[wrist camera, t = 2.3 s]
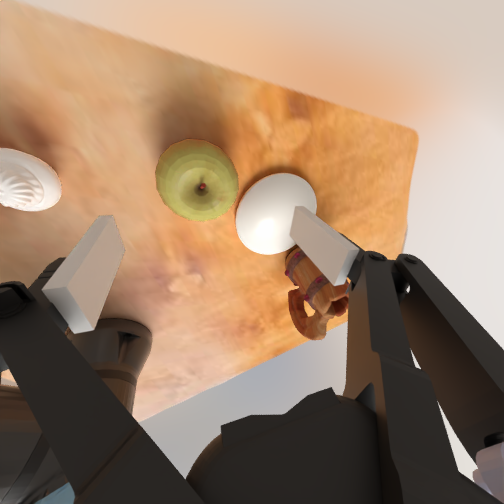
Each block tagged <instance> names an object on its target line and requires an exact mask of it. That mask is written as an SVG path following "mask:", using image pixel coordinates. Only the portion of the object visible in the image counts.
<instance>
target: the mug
mask: <svg viewBox="0 0 504 504" xmlns="http://www.w3.org/2000/svg"><path fill="white" fill-rule="evenodd" d="M285 266H286V271H285V275H286V276H288V277H289V278H290V280H291V281H292V282H293V283H294V285H295V286H299V288H298V289H295V290H291V291H289V292H288V302H289V311H290V315H291V318H292V320H293V323H294V325H295V327H296V328H297V330H298V331H299V332H300V333H301V334H302V335H303V336H304V337H306V338H308V339H311V340H321V339H323V338H324V337H325V335H326V324H327V322H328V320H329V319H331V318H334V316H338V317H339V316H341V315H343V314H344V313H345V312H346V309H348V301H349V292H348V293H347V294H345V292H346V290H347V288H348V286H349V283H348V281H347V279H346V281H345V283H344V284H342V285H337V286H334V285H333V284H332V283H331V282H330V281H329V280H328V279H327V278H326V276H325V275H324V274H323V273H322V272H321V271H320V270H319V268H318V267H317V266H316V265H315V264H314V263H313V262H312V261H311V259H310V258H309V257H308V256H307V255H306V254H305V253H304V251H303V250H302V249H301V248H300V247H298V248H296V249H295V250H293V251H292V252H291V253H290V254H289V256H288V257H287V259H286V263H285ZM304 300H305V301H306V302H308V303H309V305H310V306H311V307H312V308H313V309H314V310H316V311H315V313H314V315H313V316H310V317H308V316H307V314H306V312H305V309H304Z"/></svg>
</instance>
